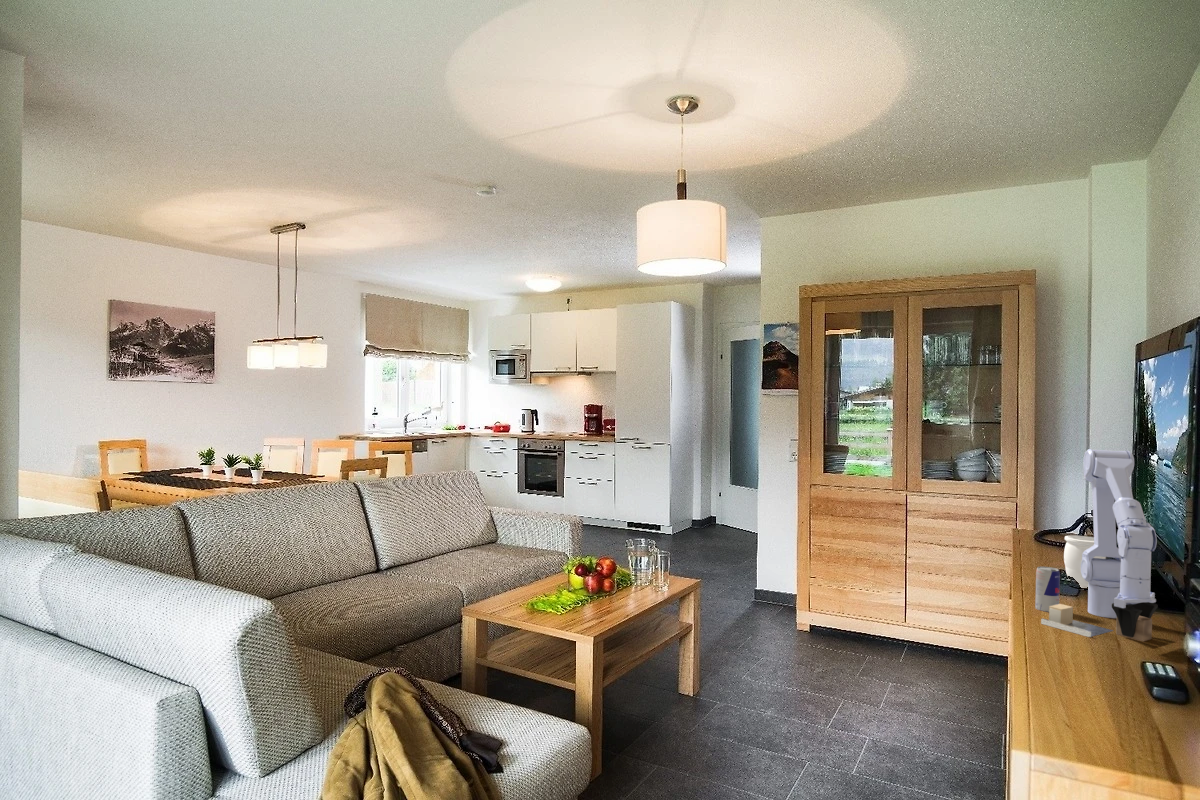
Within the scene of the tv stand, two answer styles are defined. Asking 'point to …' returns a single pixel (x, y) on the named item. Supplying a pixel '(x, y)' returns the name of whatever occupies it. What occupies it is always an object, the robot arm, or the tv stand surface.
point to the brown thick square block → (1139, 629)
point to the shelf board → (1077, 627)
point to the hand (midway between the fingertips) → (1133, 634)
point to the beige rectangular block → (1061, 614)
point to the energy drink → (1047, 588)
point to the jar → (1077, 556)
